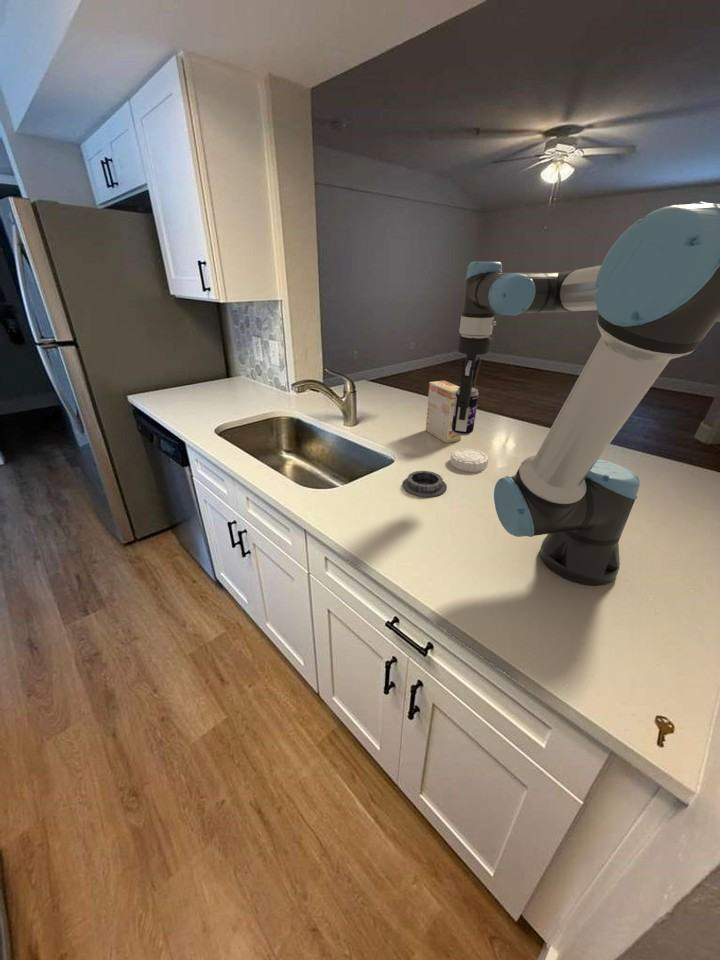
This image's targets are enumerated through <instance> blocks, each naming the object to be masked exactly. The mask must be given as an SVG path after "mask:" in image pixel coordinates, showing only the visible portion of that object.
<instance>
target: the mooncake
mask: <svg viewBox="0 0 720 960" xmlns="http://www.w3.org/2000/svg"><path fill="white" fill-rule="evenodd" d="M449 463H450V464H451V466H453V468H454V469H457V470H459V471H462V472H470V473H473V472H474V473H477V472H482V471H485V470H486V469H487V468H488V465H489V464H488V463H489V456H488V455H487V453H486V454H485V453H484V452H483V451H481V450H477V449H473V448H471V449H470V448H459V449H457V450H454V451H453V452H451V454H450V462H449Z"/></svg>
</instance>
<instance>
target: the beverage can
mask: <svg viewBox="0 0 720 960" xmlns="http://www.w3.org/2000/svg"><path fill="white" fill-rule="evenodd" d="M459 393H460V386H459V388H458V391H457V392H456V397H455V405H454V413H453V421H452V430H453V431H454V433H455V434H457V435H461V437H462V436H465V437H466V436H469V435H470V434H471V433H473V431H474V429H475V427H474V426H475V421H476V413H477V409H478V401H479V396H480V394H479V390H478V388H477V387H476V386H475V387H472V391H471V397H470V402H469V407H470V408H469V415H468V422H467V429H466V432H464V431H457V430H455V429H456V421H457V413H458V407H456V404H458V400H459Z"/></svg>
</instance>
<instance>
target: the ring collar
mask: <svg viewBox="0 0 720 960" xmlns="http://www.w3.org/2000/svg"><path fill="white" fill-rule="evenodd" d="M402 488H403V490H404V491H405V492H407V493H408V494H410V495H412V496H415V497H419V498H436V497H440V496H442V495H443V494H445V493H446V491H447V489H448V485H447V483H446V482H445V481H444V479H443V477H442V476H441V475H440V474H438V473H437V472H436V473H435V472H434V471H428V470H416V471H413V472H411V473H409V474H408V476H407V478H405V479H403V481H402Z"/></svg>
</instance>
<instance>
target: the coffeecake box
mask: <svg viewBox="0 0 720 960" xmlns="http://www.w3.org/2000/svg"><path fill="white" fill-rule="evenodd" d="M428 384H429V385H428V398H427V406H426V407H427V408H426V409H427V410H426V420H425V421H426V422H425V431H427V432H428V433H429V434H431V435H432V436H434V437H436V438H437V439H439V440H440V441H442V442H443V443H447V444H448V443H454V442H460V441H462V435H457V434H455V433H454V431H453V430H452V421H453V413H454V405H455V397H456V392H457V391H458V388H459V387H460V386H458V385H456V384H454V383H451V382H449V381H446V380H437V381H436V380H435V381H429V383H428Z"/></svg>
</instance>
